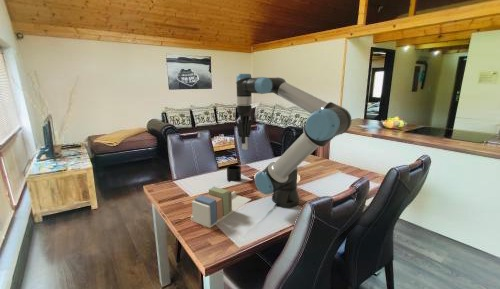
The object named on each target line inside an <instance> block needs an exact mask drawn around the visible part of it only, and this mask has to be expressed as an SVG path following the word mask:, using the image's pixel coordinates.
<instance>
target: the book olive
mask: <svg viewBox="0 0 500 289" xmlns="http://www.w3.org/2000/svg"><path fill="white" fill-rule="evenodd" d="M228 191H229V190H227V189H224V188H221V187H220V188H219V187H217V186H212V187H211V188H209V189H208V195H212V196H215V197H218V198H221V199H222V208H223V216H225V215H227V214H228V213H229V197H228Z"/></svg>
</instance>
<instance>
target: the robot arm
mask: <svg viewBox="0 0 500 289" xmlns="http://www.w3.org/2000/svg"><path fill="white" fill-rule="evenodd" d="M235 84H236V104H237V106H236V111H237V113H238V118H237V119H235V123H236V128H237V133H238V137H239V138H241V150H244V151H245V150H246V151H247V150H248V149H249V148H248V147H249V145H248V144H249V143H248V141H249V138H250V137H251V136H250V135H251V131H252V123H253V120H254V118H253V116H251V113H252V110H253V108H252V107H253V106H252V103H253V101H252V100H253V99H252V94H259V95H264V94H275V95H276V96H278V97H281V98H282V99H284V100H285V101H287V102H289V103H291V104H293V105H295V106H297V107H298V108H300V109H303V110H304V111H306V112H307V113H309V115H308V117H307V118H306V121H305V125H304V126H303V129H302V132H303V133H302V134H300V135H299V137H297V139H295V141H294V142H293V143H292V144H291V145H290V146H289V147H288V148H287V149H286V150H285V152H283V153H282V154H281V155H280V157H279V158H278V159H277V160H275V161H274V162H273V161H272V162H270V163H269V164H268V165H267V166H266V167H265V168H264V169H263V170H261V171H258V172H257V173H256V174H255V176H254V184H255V186H256V189H257V190H258V191H259V192H260V193H262V194H263V195H270V194H272V196H271V200H272V203H274V206H277V207H281V208H294V207H297V206H298V205H299V204H300V194H299V192H298V188H297V187H298V186H297V185H298V170H299V169H298V166H300V165H301V163H303V162H304V161H305V160H306V159H307V158H308V157H309V156H310V155H312V154H313V152H314V151H316V150H317V148H319V147H320V148H324V147H325V146H326V145H327V144H328V143H330V142H331V141H332V140H333V139H334V138H336V137H337V136H339V135H343V134H345V133H346V132H347V131H348V130H349V129H350V127H351V125H352V116H351V115H352V114H350V111H348V109H346V108H344V107H343V106H341V105H338V104H336V103H334V102H332V101H329V102H326V101H324V100H323V99H321V98H318V97H317V96H314V95H312V94H311V93H309V92H306V91H304V90H302V89H300V88H298V87H297V86H294V85H292V84H290V83H288V82H287V81H286V80H285V78H282V77H278V76H277V77H265V76H260V77H258V76H257V77H253V76H252V74H250V73H238V74H237V75H236V81H235Z"/></svg>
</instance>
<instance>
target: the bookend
mask: <svg viewBox="0 0 500 289" xmlns="http://www.w3.org/2000/svg"><path fill="white" fill-rule="evenodd" d="M231 193H232V191H230V190H228V197H229V212H230V211H232V196H231Z"/></svg>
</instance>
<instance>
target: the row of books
mask: <svg viewBox="0 0 500 289" xmlns="http://www.w3.org/2000/svg"><path fill="white" fill-rule="evenodd" d="M231 196H232V211H230V212H229V213H228V214H227V215H225V216H223V217H222V218H220V219H219V220H217V222H215V223H214V224H212V225H211V217H210V206H208V205H205V204H202V203H199V202H196V201H195V200H192V201H191V208H192V209H191V210H192V215H191V216H190V221H192V222H194V223H197V224H199V225H201V226H204V227H207V228H208V229H210V228H212V227H214V226H216V224H218V223H219V222H221V221H222V220H224V219H225V218H226V217H228V216H230V214H231V215H232V213H234V212H235V211H237V210H238V209H240V208H241V207H243V206H244V205H246V204H247V203H248V202H250V201H251V200H252V198H249V197H245V196H241V195H238V194H237V192H236V191H235V190H233V191H231Z"/></svg>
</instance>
